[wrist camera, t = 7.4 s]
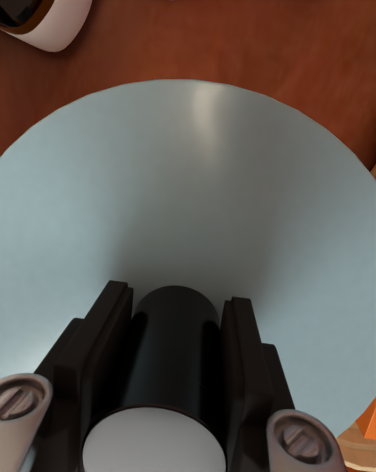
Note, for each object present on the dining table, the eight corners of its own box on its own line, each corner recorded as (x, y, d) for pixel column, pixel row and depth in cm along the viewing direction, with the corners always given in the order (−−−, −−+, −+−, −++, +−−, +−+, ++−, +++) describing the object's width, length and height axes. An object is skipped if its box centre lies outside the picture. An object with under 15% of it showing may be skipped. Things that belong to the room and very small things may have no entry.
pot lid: (255, -32, 9) (344, -333, 3) (456, 364, 12) (681, 574, 6) (-103, 244, 12) (-392, 350, 6) (134, 501, 15) (90, 726, 9)
